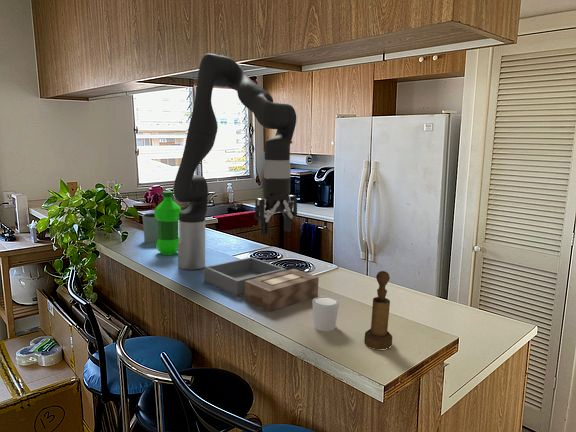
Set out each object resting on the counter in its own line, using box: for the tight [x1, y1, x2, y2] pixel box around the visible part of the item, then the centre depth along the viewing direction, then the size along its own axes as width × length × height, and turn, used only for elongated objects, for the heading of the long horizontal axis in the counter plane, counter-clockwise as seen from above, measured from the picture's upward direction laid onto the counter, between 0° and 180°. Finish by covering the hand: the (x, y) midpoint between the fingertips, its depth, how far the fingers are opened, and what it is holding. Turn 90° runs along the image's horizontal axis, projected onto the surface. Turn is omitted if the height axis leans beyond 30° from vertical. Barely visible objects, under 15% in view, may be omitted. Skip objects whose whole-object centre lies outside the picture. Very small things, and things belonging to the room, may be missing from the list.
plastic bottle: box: [153, 190, 182, 256], centre depth 176 cm, size 10×10×25 cm
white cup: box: [311, 296, 340, 332], centre depth 114 cm, size 7×7×7 cm
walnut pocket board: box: [243, 268, 320, 312], centre depth 133 cm, size 20×11×6 cm, turn 133°
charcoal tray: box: [203, 256, 287, 298], centre depth 146 cm, size 20×18×5 cm
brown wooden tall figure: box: [363, 270, 393, 350], centre depth 104 cm, size 7×6×18 cm
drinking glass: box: [141, 212, 158, 245], centre depth 196 cm, size 10×10×12 cm
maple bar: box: [263, 274, 301, 286], centre depth 133 cm, size 12×4×2 cm, turn 134°
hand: (276, 233), depth 126 cm, fingers open, 8 cm apart
